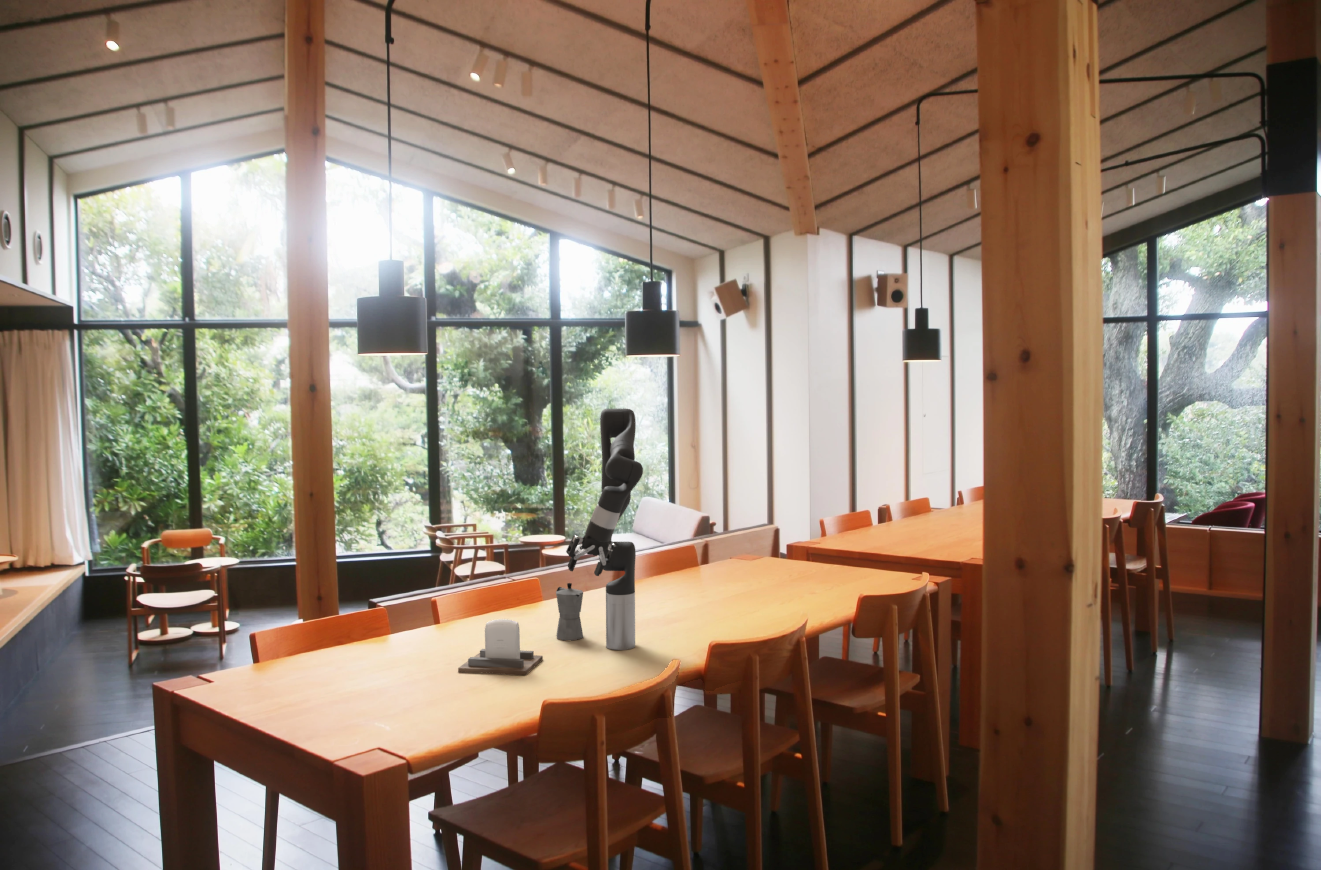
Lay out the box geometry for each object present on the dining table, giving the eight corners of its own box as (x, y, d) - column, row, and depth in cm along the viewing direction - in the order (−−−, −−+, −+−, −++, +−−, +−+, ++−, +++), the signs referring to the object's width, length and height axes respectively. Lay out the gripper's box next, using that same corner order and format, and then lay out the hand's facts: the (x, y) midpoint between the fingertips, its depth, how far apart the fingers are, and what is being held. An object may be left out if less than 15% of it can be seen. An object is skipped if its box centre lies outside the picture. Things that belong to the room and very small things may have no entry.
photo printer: (483, 663, 251) (482, 620, 251) (487, 659, 255) (487, 617, 255) (518, 663, 250) (517, 621, 250) (521, 659, 255) (521, 617, 254)
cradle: (479, 656, 262) (479, 646, 262) (542, 659, 259) (542, 648, 259) (458, 672, 246) (458, 660, 246) (525, 675, 243) (525, 663, 243)
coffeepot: (591, 639, 283) (591, 584, 282) (566, 643, 277) (565, 587, 277) (570, 629, 296) (569, 577, 295) (545, 633, 290) (544, 580, 290)
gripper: (619, 521, 254) (599, 570, 257) (577, 512, 247) (557, 562, 250) (629, 532, 248) (609, 582, 251) (586, 522, 241) (565, 574, 243)
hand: (583, 572), depth 250 cm, fingers open, 8 cm apart
